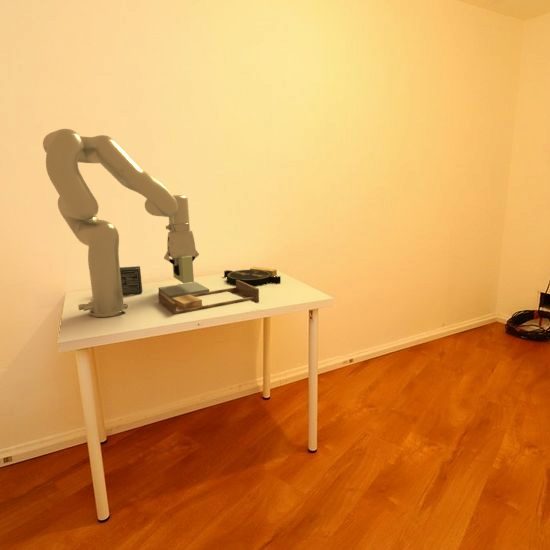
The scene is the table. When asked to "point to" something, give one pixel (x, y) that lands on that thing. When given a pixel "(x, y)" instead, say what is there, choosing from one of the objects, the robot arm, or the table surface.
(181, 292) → the grey board
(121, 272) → the small box
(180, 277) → the pale green block
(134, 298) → the table surface
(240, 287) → the frame
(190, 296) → the upper offcut
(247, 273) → the decorative sign
